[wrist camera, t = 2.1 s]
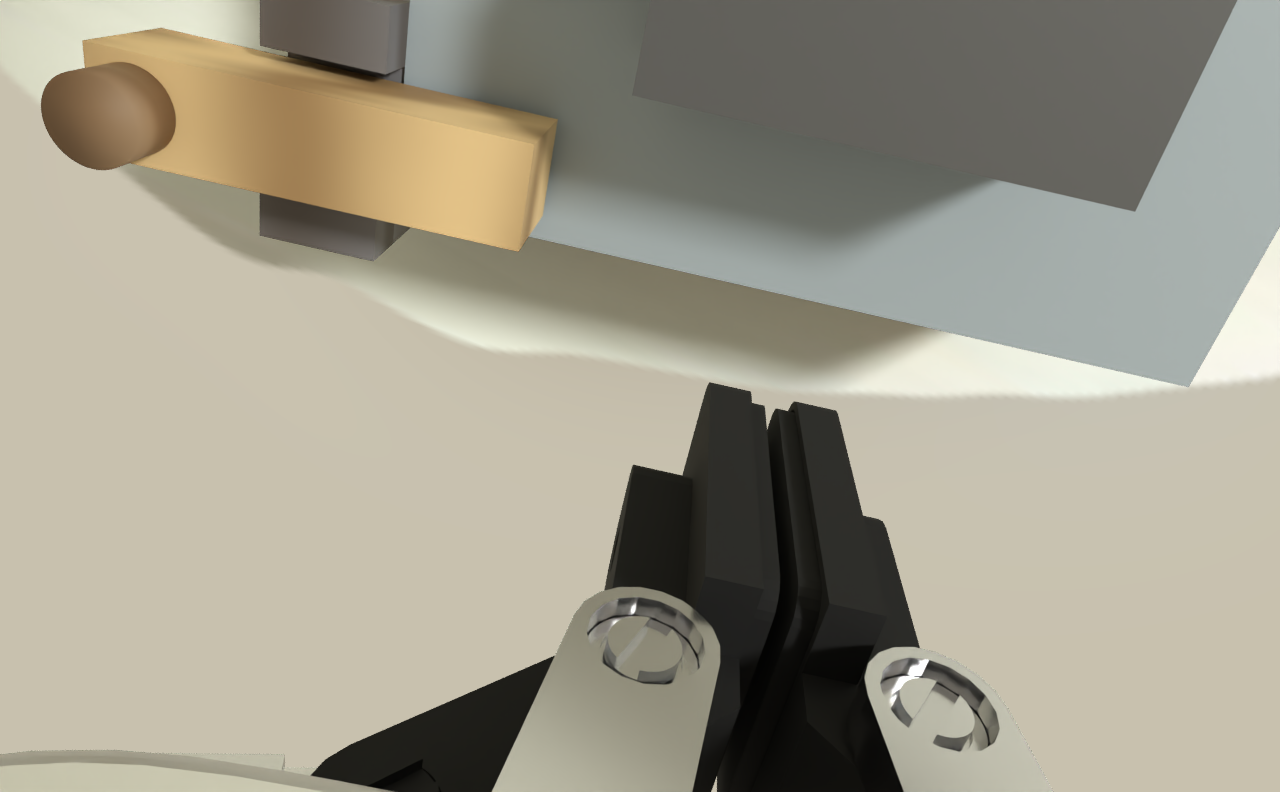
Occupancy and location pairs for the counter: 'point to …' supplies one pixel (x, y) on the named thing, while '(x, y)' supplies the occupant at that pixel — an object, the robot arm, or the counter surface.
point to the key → (304, 134)
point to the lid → (907, 153)
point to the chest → (349, 40)
